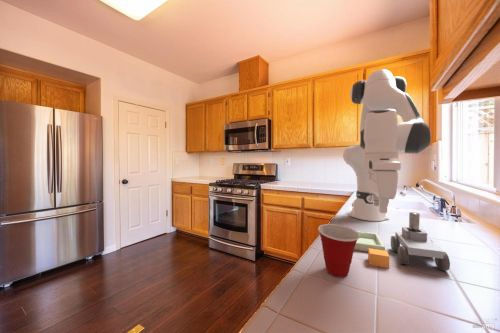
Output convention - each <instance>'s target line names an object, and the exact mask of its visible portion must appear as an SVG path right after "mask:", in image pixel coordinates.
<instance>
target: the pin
mask: <svg viewBox="0 0 500 333" xmlns="http://www.w3.org/2000/svg"><path fill="white" fill-rule="evenodd" d="M420 215H421V214H420V213H419V212H413V211H410V212H409V216H408V217H409V218H408V223H409V224H408V227H409V231H413V232H419V229H420Z"/></svg>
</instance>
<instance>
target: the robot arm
mask: <svg viewBox="0 0 500 333" xmlns="http://www.w3.org/2000/svg"><path fill="white" fill-rule="evenodd" d="M407 88H408V86H407V80H406V79H405V78H404V77H402V76H393V74H392V72H391V71H390V70H388V69H381V68H380V69H376V70H375V71H373V72H371V73H370V74H369V76H368V77H367V79H366V80H359V81H356V82H355V83H353V84H352V87H351V88H350V91H349V96H350V99H351V102H352V103H353V104H354V105H355V104H356V105H361V104H363V105H362V108H361V112H360V113H361V114H360V122H359V125H360V126H359V134H360V138H359V139H360V143H359V144H356V145H350V146H347V147H346V148H345V149H344V151H343V153H342V154H343V155H342V157H343V160H344V162H345V164H347V165H349V167H351V168H352V169H353V171H354V173H355V176H356V186H357V188H356V193H355V195H356V196H355V197H356V198H355V199H354V200H353V202H352V203H351V207H352V208H351V211H350V213H349V214H348V216H349V217H351V218H352V217H353V218H355V219H359V220H363V221H370V222H382V221H388V220H389V221H390V217H389V216H388V215H386V214H387V213H388V206H389V203H390V200H395V198H396V196H397V189H398V180H399V173H398V171H400V170H401V167H402V166H401V165H402V163H401V162H400V159H399V154H400V153H401V154H403V153H404V154H415V155H417V154H419V153H420V152H421V153H422V152H423V151H424V150H426V149H427V148H428V147H430V144H431V141H432V132H431V129H430V127H429V125H428V124H427V123H426V121H424V119H423V117H422V116H421V114H420V112H419V110H418V108H417V106H416V104H415V102H414V101H413V98H411V96H410V94H408V93H406V92H407ZM398 116H400V117H401V120H402V121H403V122H399V118H398Z"/></svg>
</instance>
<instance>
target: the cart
mask: <svg viewBox="0 0 500 333" xmlns="http://www.w3.org/2000/svg"><path fill="white" fill-rule="evenodd" d="M394 234H395V235H391V236H390V248H391V251H392V252H397V258H398V262H399V264H400V265H401V264H403V265H409V262H410V255H411V256H419V257H425V258H426V257H429V258H432V259H433V258H434V263H435V266H436V268H437V269H438V270H441V271H447V272H448V271H449V270H450V268H451V265H450V264H451V262H450V258H449V255H448V254H447V252H446V251H443V249H441V248H440V247H439V246H438V245H437V244H435V243H434V241H433V240H432V239H429V237H428V232H426V231H425V230H424V229H422V228H419V232H413V231H409V226H402V227H401V231H395V232H394Z"/></svg>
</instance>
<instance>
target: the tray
mask: <svg viewBox="0 0 500 333" xmlns="http://www.w3.org/2000/svg"><path fill="white" fill-rule="evenodd" d="M355 231H356V232H358V233H359V235H360V238H359V239H358V240H357V242H356V245H355V248H354V251H360V252H368V248H370V249H377V250H384V251H386V246H385V245H384V242H383V241H382V238H381V237H380V235H379V233H376V232H368V231H367V232H366V231H360V230H359V231H358V230H355Z"/></svg>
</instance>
